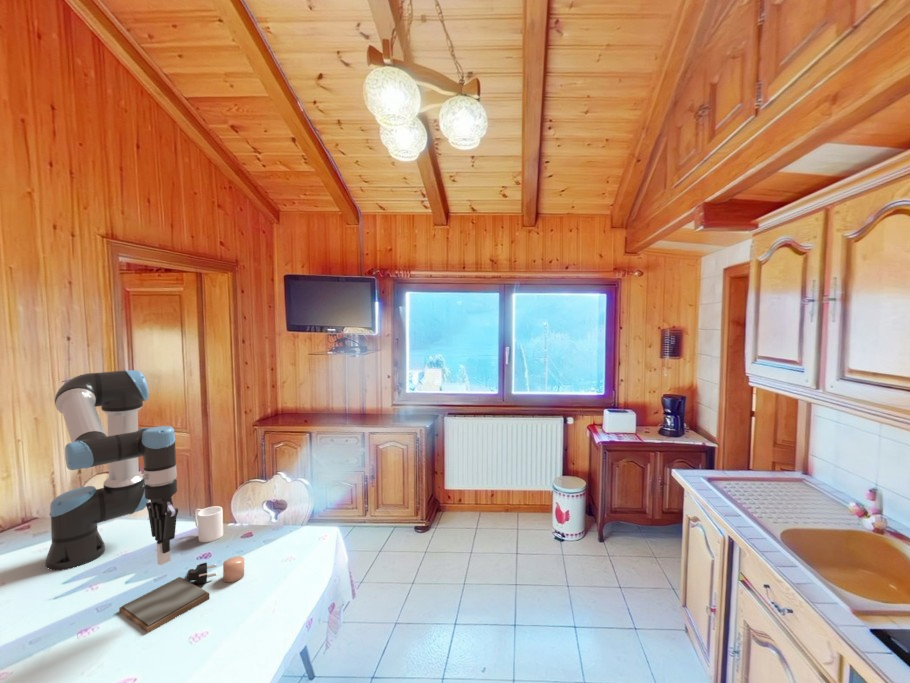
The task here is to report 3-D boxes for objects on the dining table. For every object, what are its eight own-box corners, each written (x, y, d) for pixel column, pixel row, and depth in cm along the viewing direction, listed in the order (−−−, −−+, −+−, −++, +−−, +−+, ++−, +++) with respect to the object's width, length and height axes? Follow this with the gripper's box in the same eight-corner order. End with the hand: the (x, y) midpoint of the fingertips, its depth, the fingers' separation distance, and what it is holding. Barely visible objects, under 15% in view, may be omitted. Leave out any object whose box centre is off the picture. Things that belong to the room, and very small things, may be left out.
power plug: (187, 561, 135) (189, 568, 125) (214, 555, 139) (217, 561, 130) (187, 580, 134) (188, 588, 124) (213, 573, 138) (217, 581, 129)
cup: (204, 528, 163) (203, 503, 163) (228, 532, 160) (227, 507, 159) (185, 538, 156) (184, 513, 155) (209, 543, 152) (209, 517, 152)
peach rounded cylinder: (218, 581, 129) (218, 565, 129) (231, 571, 135) (231, 556, 135) (236, 582, 129) (236, 566, 129) (248, 572, 135) (248, 557, 135)
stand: (119, 614, 115) (119, 606, 115) (180, 582, 129) (180, 575, 129) (147, 635, 107) (147, 627, 107) (209, 599, 121) (209, 591, 121)
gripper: (134, 482, 116) (137, 562, 117) (157, 490, 110) (161, 575, 111) (163, 473, 123) (166, 550, 124) (187, 481, 117) (190, 561, 117)
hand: (164, 562), depth 117 cm, fingers closed
